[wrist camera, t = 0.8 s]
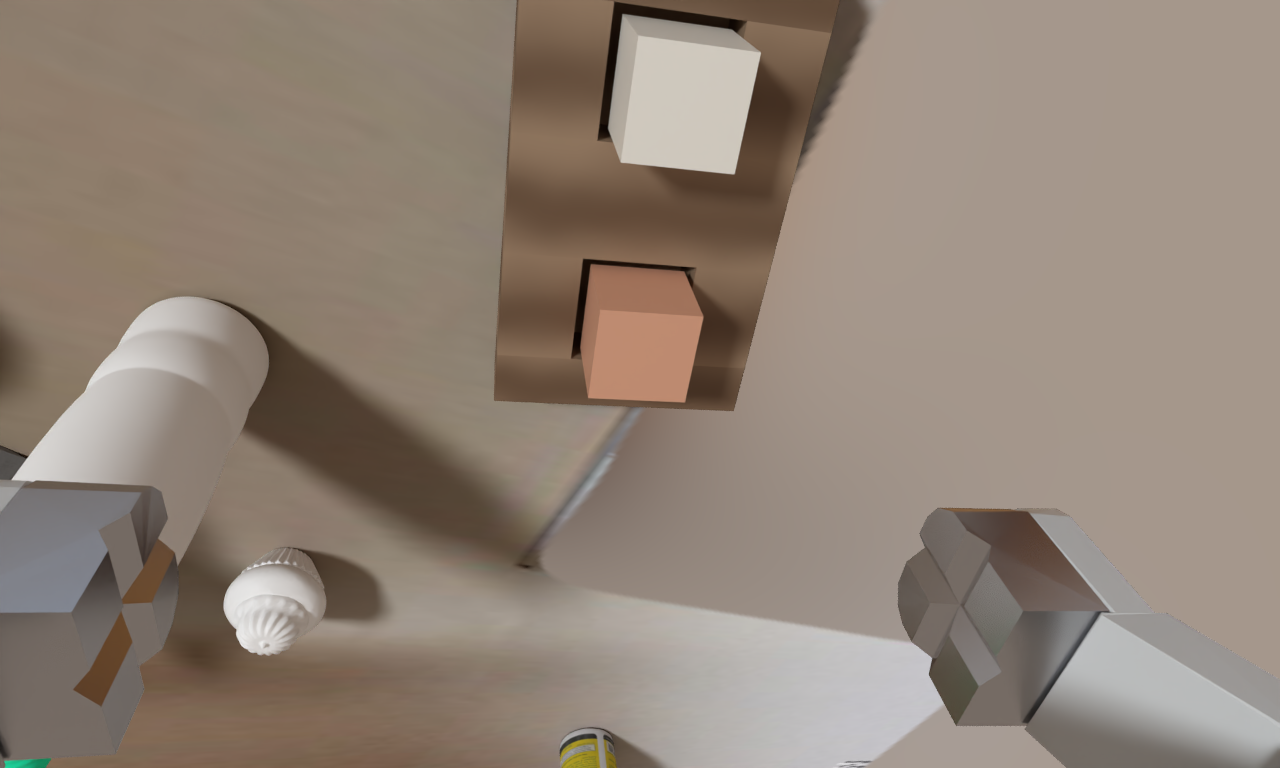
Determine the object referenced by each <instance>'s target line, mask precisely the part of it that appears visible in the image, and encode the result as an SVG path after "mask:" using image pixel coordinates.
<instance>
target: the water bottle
mask: <svg viewBox="0 0 1280 768" xmlns="http://www.w3.org/2000/svg"><path fill="white" fill-rule="evenodd" d="M268 368H269V355H268V350H267V346H266V344H265V342H264V339H263V337H262V336H261V334H260V333H259V331H258V330H257V329H256V327H255V326H254V325H253V324H252V323H251V322H250V321H249V320H248V319H247V318H246V317H244V316H243V315H242V314H240V313H239V312H237V311H236V310H234V309H232V308H231V307H229V306H227V305H224V304H222V303H219V302H217V301H213V300H210V299H206V298H200V297H175V298H170V299H166V300H163V301H160V302H157V303H155V304H153V305H152V306H150V307H148V308H147V309H146V310H144V311H143V312H142V313H141V314H140V315H139V316H138V317H137V318H136V319H135V321H134V322H133V323H132V324H131V326H130V327H129V328H128V330H127V331H126V333H125V334H124V336H123V338H122V339H121V341H120V343H119V345H118V347H117V349H115V350H114V351H113V352H112V353H111V354H110V355H109V356H108V357H107V358H106V359H105V360H104V361H103V362H102V364H101V365H100V366H99V367H98V369H97V370H96V371H95V373H94V375H93V376H92V378H91V379H90V381H89V383H88V385H87V388H86V390H85V392H84V393H83V394H82V395H81V396H80V397H79V398H78V399H77V400H76V401H75V402H74V403H73V404H72V405H71V406H70V407H69V408H68V409H67V410H66V411H65V413H64V414H63V415H62V416H61V417H60V418H59V419H58V421H57V422H56V423H55V424H54V425H53V427H52V428H51V429H50V430H49V431H48V433H47V434H46V435H45V436H44V438H43V439H42V440H41V441H40V443H39V444H38V445H37V446H36V448H35V449H34V450H33V451H32V453H31V454H30V455H29V457H28V458H27V459H26V461H25V462H24V463H23V465H22V466H21V467H20V469H19V470H18V471H17V473H16V474H15V476H14V477H13V478H12V480H20V481H32V482H34V481H36V480H40V481H61V482H81V483H102V484H123V485H143V486H153V487H155V488H156V489H158V490H159V491H161V492H162V495H163V499H164V503H165V507H166V511H167V516H168V520H167V522H166V524H165V526H164V528H163V530H162V532H161V533H160V535H159V537H158V539H159V540H161V541H162V542H163V543H164V544H165V545H167V546H168V547H169V548H170V549H171V550H173V551H174V552H175V555H176V561H177V566H178V565H179V563H180V561H181V559H182V557H183V556H184V554H185V552H186V550H187V548H188V546H189V544H190V542H191V540H192V538H193V536H194V534H195V532H196V530H197V528H198V526H199V524H200V522H201V520H202V517H203V515H204V513H205V511H206V509H207V506H208V504H209V502H210V500H211V497H212V495H213V493H214V490H215V488H216V485H217V483H218V480H219V478H220V475H221V472H222V469H223V466H224V463H225V460H226V457H227V453H228V451H229V450H230V449H231V448H232V446H233V445H234V444H235V442H236V440H237V439H238V437H239V435H240V433H241V431H242V429H243V427H244V424H245V422H246V419H247V416H248V412H249V408H250V407H251V405H252V404H253V403H254V401H255V399H256V398H257V396H258V394H259V392H260V390H261V388H262V386H263V384H264V382H265V379H266V376H267V373H268ZM50 760H51V758H45V759H29V760H12V761H4V762H5V768H46V766H47V765H48V763H49V761H50Z"/></svg>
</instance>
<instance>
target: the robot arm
mask: <svg viewBox="0 0 1280 768" xmlns="http://www.w3.org/2000/svg"><path fill="white" fill-rule="evenodd" d="M167 520H168V516H167V511H166V507H165V503H164V499H163V495H162V492H161V491H159V490H158V489H156V488H155V487H153V486H143V485H123V484H102V483H81V482H61V481H40V480H36V481H34V482H32V481H20V480H0V768H5V762H4V761H12V760H29V759H45V758H62V757H79V756H96V755H113V754H116V752H117V750H118V747H119V745H120V743H121V741H122V738H123V736H124V734H125V732H126V730H127V727H128V725H129V723H130V721H131V718H132V716H133V714H134V712H135V709H136V707H137V705H138V703H139V700H140V698H141V696H142V694H143V691H144V686H143V682H142V678H141V674H140V670H139V666H140V665H141V664H143V663H144V662H146V661H147V660H148V659H150V658H151V657H152V656H154V655H155V654H156V653H158V652H159V651H160V650H162V648H163V645H164V643H165V641H166V638H167V636H168V633H169V631H170V628H171V626H172V623H173V618H174V614H175V609H176V604H177V599H178V594H179V588H178V566H177V561H176V555H175V552H174V551H173V550H171V549H170V548H169V547H168V546H167V545H165V544H164V543H163V542H162V541H161V540H159V539H158V537H159V535H160V533H161V532H162V530H163V528H164V526H165V524H166V522H167ZM920 536H921V539H922V541H923V544H924V546H925V548H924V549H923V550H921V551H920V552H919V553H917V554H916V555H915V556H913V557H912V558H911V559H910V560H908V561H907V562H906V565H905V567H904V570H903V573H902V575H901V577H900V580H899V582H898V608H899V612H900V616H901V620H902V623H903V626H904V628H905V630H906V631H907V633H908V636H909V637H910V639H911V641H912V642H913V643H914V644H915V645H916V646H918V647H919V648H920V649H922V650H923V651H924V652H925V653H927V654H928V655H929V656H931V657H932V662H931V667H930V671H929V676H930V678H931V680H932V681H933V683H934V685H935V687H936V689H937V691H938V693H939V695H940V696H941V698H942V700H943V702H944V704H945V706H946V708H947V710H948V711H949V713H950V715H951V717H952V719H953V720H954V723H955V724H956V726H1027V727H1026V728H1025V730H1026V731H1027V732H1028V733H1029V734H1030V735H1031V736H1033V738H1035V739H1036V740H1037V741H1038V742H1039V743H1040V744H1041V745H1042V746H1043V747H1045V748H1046V749H1047V750H1048V751H1049V752H1050V753H1051V754H1052V755H1053V756H1054V757H1055V758H1056V759H1058V760H1059V761H1060V762H1061V763H1062V764H1063V765H1064V766H1065V767H1066V768H1280V679H1278V678H1276V677H1275V676H1273V675H1271V674H1270V673H1268V672H1266V671H1264V670H1263V669H1261V668H1259V667H1258V666H1256V665H1254V664H1253V663H1251V662H1249V661H1248V660H1246V659H1244V658H1242V657H1241V656H1239V655H1237V654H1236V653H1234V652H1232V651H1231V650H1229V649H1227V648H1225V647H1224V646H1222V645H1220V644H1219V643H1217V642H1215V641H1214V640H1212V639H1210V638H1208V637H1207V636H1205V635H1203V634H1202V633H1200V632H1198V631H1197V630H1195V629H1193V628H1191V627H1190V626H1188V625H1186V624H1185V623H1183V622H1181V621H1179V620H1178V619H1176V618H1174V617H1173V616H1171V615H1169V614H1168V613H1155V612H1154V611H1153V610H1152V609H1151V608H1150V607H1149V605H1148V604H1147V603H1146V602H1145V601H1144V600H1143V599H1142V597H1140V595H1139V594H1138V593H1137V592H1136V591H1135V590H1134V588H1133V587H1132V586H1131V585H1130V584H1129V583H1128V582H1127V580H1126V579H1125V578H1124V577H1123V576H1122V575H1121V574H1120V572H1119V571H1118V570H1117V569H1116V568H1115V567H1114V566H1113V565H1112V563H1111V562H1110V561H1109V560H1108V559H1107V558H1106V557H1105V555H1104V554H1103V553H1102V552H1101V551H1100V550H1099V549H1098V547H1097V546H1096V545H1095V544H1094V543H1093V542H1092V541H1091V539H1090V538H1089V537H1088V536H1087V535H1086V534H1085V533H1084V532H1083V530H1082V529H1081V528H1080V527H1079V526H1078V525H1077V524H1076V522H1075V521H1074V520H1073V519H1072V518H1071V517H1070V516H1068V515H1067V514H1065V513H1063V512H1061V511H1059V510H1057V509H1015V510H1011V509H972V508H937V509H936V510H935V511H934V512H933V513H931V515H929V516H928V517H927V519H926V521H925V523H924V526H923V527H922V529H921V531H920Z"/></svg>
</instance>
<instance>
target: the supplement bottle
mask: <svg viewBox="0 0 1280 768" xmlns="http://www.w3.org/2000/svg"><path fill="white" fill-rule="evenodd" d="M560 762H561V768H617V766H616V759H615V751H614V743H613V739H612V737H611V735H610V734H609V733H607V732H606V731H604V730H601V729H595V728H585V729H580V730H577V731H574V732H572V733H570V734H569V735H567V736H566V737H565V738H564V739H563V741H562V742H561V745H560Z"/></svg>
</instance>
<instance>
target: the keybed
mask: <svg viewBox="0 0 1280 768" xmlns="http://www.w3.org/2000/svg"><path fill="white" fill-rule="evenodd" d="M839 2H840V0H517V8H516V24H515V41H514V57H513V73H512V89H511V106H510V122H509V138H508V155H507V171H506V187H505V203H504V220H503V236H502V252H501V269H500V285H499V301H498V318H497V334H496V350H495V375H494V401H512V402H535V403H558V404H581V405H605V406H628V407H651V408H674V409H698V410H722V411H723V410H724V411H734V407H735V404H736V400H737V396H738V392H739V388H740V384H741V381H742V377H743V373H744V369H745V365H746V361H747V357H748V354H749V349H750V346H751V342H752V338H753V334H754V330H755V327H756V323H757V319H758V315H759V311H760V306H761V303H762V299H763V295H764V292H765V288H766V284H767V280H768V276H769V272H770V268H771V265H772V261H773V256H774V253H775V249H776V245H777V242H778V238H779V234H780V230H781V226H782V222H783V218H784V215H785V211H786V207H787V203H788V199H789V195H790V191H791V187H792V184H793V180H794V176H795V172H796V168H797V164H798V160H799V157H800V153H801V149H802V145H803V141H804V137H805V133H806V130H807V126H808V122H809V118H810V114H811V110H812V106H813V103H814V99H815V95H816V91H817V87H818V83H819V79H820V75H821V72H822V68H823V64H824V60H825V56H826V52H827V48H828V45H829V41H830V37H831V33H832V29H833V25H834V21H835V18H836V14H837V10H838V6H839ZM622 14H627V15H634V16H641V17H648V18H655V19H662V20H669V21H676V22H683V23H690V24H697V25H704V26H711V27H718V28H725V29H732V30H733V31H734V32H736V33H737V34H738V35H739V36H741V37H742V38H743V39H744V40H746V41H747V42H748V43H750V44H751V45H752V46H753V47H755V48H756V49H757V50H758V51H760V52H761V55H760V60H759V64H758V69H757V74H756V78H755V83H754V87H753V92H752V97H751V101H750V106H749V110H748V115H747V120H746V124H745V129H744V133H743V138H742V142H741V147H740V152H739V156H738V161H737V165H736V170H735V174H725V173H716V172H706V171H696V170H687V169H677V168H668V167H658V166H649V165H639V164H630V163H621V162H620V159H619V156H618V154H617V151H616V148H615V146H614V143H613V140H612V138H611V135H610V132H609V130H608V125H609V117H610V109H611V101H612V93H613V85H614V77H615V69H616V62H617V54H618V46H619V38H620V30H621V22H622ZM591 264H596V265H609V266H621V267H634V268H647V269H659V270H672V271H684V272H685V275H686V277H687V279H688V282H689V284H690V286H691V289H692V291H693V293H694V296H695V298H696V300H697V303H698V305H699V307H700V310H701V312H702V314H703V322H702V326H701V331H700V335H699V340H698V345H697V349H696V354H695V358H694V363H693V368H692V372H691V377H690V381H689V386H688V391H687V395H686V400H685V402H663V401H641V400H618V399H596V398H588V394H587V388H586V381H585V375H584V368H583V362H582V355H581V349H580V345H581V337H582V329H583V321H584V313H585V306H586V298H587V290H588V282H589V274H590V266H591Z"/></svg>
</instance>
